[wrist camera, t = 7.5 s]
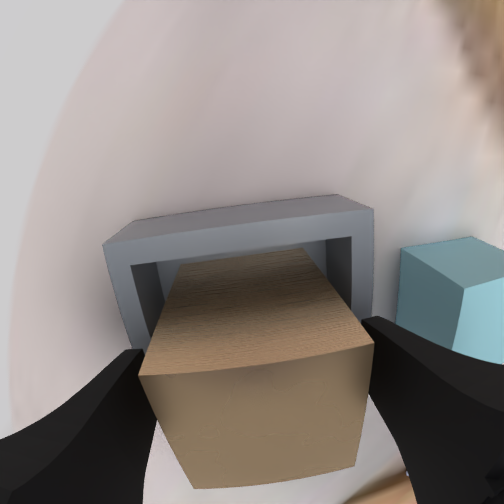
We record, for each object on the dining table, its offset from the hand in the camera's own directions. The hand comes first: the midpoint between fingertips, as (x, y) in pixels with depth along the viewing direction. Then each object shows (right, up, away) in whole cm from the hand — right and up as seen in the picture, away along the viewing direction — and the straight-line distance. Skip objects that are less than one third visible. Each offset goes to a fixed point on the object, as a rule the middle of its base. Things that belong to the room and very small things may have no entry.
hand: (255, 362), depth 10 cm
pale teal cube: (+10, +2, +5) cm, 11 cm away
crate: (0, +1, +4) cm, 4 cm away
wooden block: (0, +1, +4) cm, 4 cm away
